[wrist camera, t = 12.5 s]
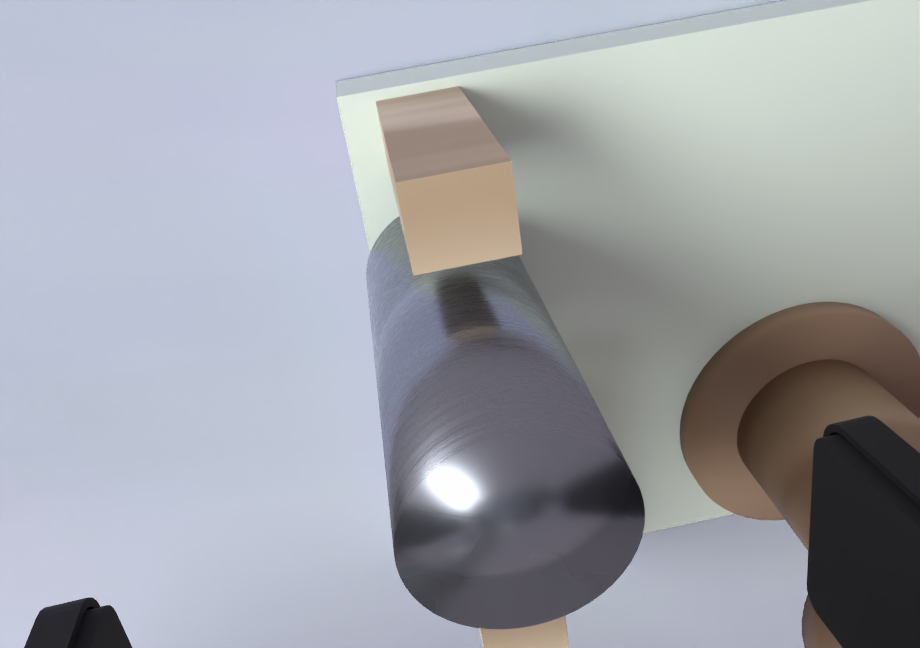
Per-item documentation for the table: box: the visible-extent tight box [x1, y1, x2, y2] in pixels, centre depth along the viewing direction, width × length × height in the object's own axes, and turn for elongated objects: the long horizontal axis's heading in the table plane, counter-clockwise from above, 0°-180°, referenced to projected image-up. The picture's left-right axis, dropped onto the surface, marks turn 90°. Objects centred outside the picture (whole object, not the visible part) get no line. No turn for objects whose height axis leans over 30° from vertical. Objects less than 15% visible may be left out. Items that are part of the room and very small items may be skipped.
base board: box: [336, 0, 920, 534], centre depth 19 cm, size 12×19×2 cm, turn 98°
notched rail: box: [376, 86, 569, 648], centre depth 16 cm, size 11×2×5 cm, turn 8°
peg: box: [367, 216, 645, 629], centre depth 14 cm, size 3×3×8 cm
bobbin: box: [680, 302, 920, 648], centre depth 18 cm, size 6×6×6 cm
